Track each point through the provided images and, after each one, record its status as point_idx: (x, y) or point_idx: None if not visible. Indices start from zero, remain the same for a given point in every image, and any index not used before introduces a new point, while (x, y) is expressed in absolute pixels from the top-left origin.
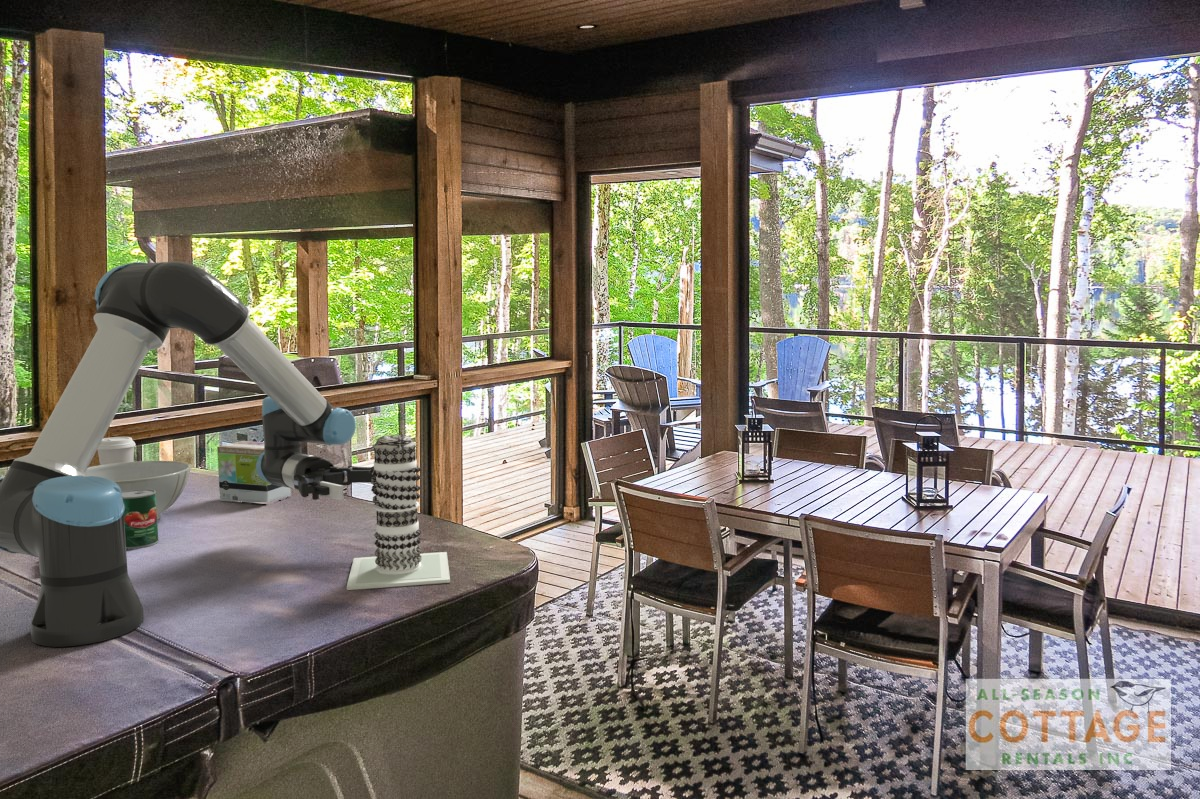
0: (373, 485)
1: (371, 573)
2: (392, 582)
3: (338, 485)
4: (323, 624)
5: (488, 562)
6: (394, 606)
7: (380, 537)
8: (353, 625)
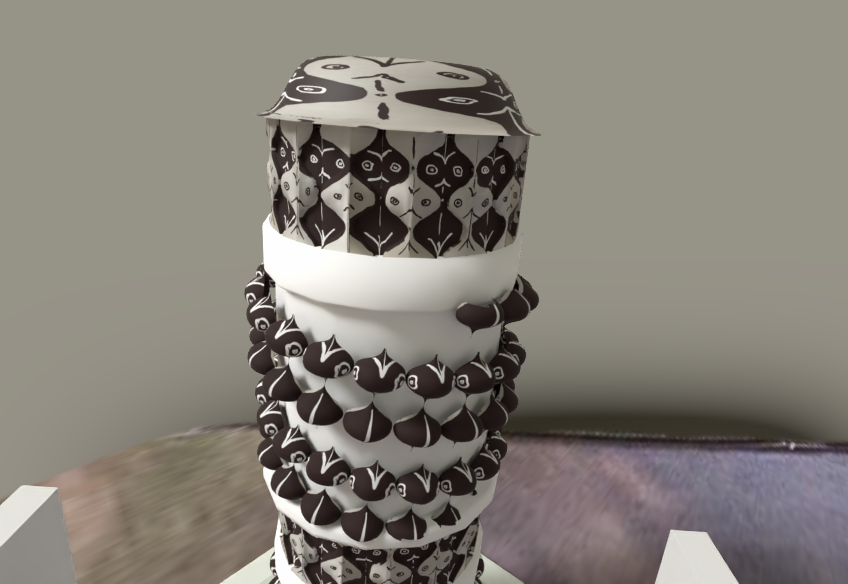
0: (471, 419)
1: None
2: (494, 574)
3: (712, 557)
4: (755, 515)
5: (154, 514)
6: (570, 481)
7: (482, 558)
8: (688, 472)
